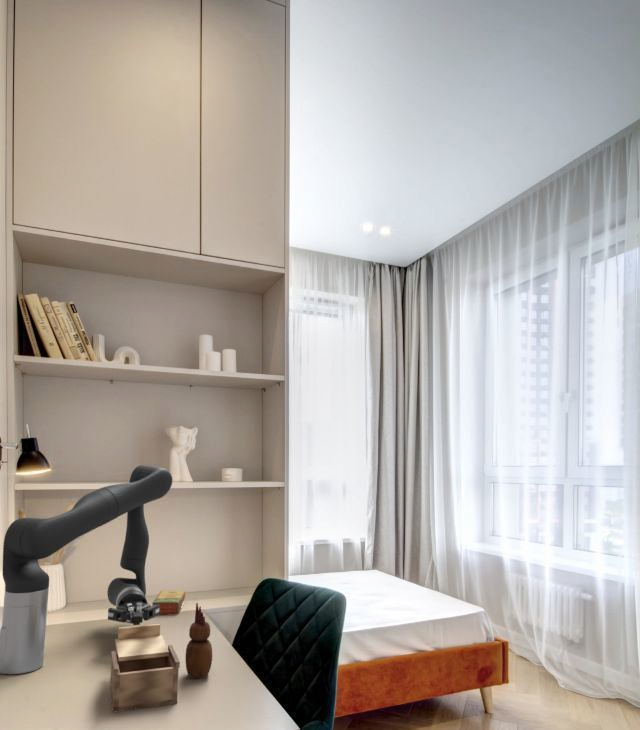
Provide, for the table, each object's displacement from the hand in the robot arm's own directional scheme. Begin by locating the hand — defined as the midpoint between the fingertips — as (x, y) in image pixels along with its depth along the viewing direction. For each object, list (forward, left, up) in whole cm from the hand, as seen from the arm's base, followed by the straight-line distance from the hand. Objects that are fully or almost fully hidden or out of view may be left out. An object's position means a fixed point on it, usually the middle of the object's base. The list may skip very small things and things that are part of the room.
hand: (137, 620), depth 140 cm
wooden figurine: (+12, -13, -10) cm, 20 cm away
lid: (0, -13, -3) cm, 13 cm away
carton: (+14, +50, -10) cm, 53 cm away
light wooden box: (0, -20, -10) cm, 22 cm away
